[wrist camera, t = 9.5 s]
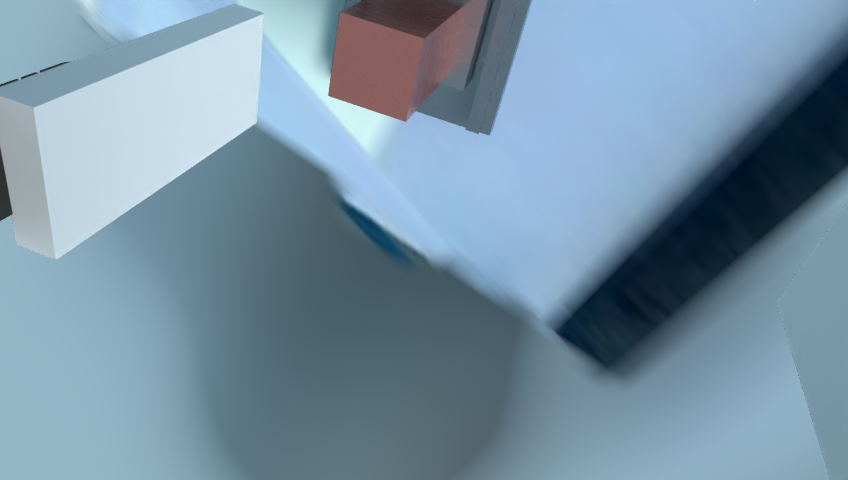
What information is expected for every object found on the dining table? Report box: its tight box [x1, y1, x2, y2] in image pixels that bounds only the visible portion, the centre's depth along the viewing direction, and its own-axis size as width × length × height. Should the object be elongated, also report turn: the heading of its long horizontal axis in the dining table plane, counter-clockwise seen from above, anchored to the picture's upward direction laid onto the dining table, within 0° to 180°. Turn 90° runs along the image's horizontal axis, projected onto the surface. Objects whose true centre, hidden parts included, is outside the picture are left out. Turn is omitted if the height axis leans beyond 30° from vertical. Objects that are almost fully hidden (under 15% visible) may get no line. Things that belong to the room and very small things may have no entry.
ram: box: [328, 0, 492, 122], centre depth 40 cm, size 8×8×11 cm
